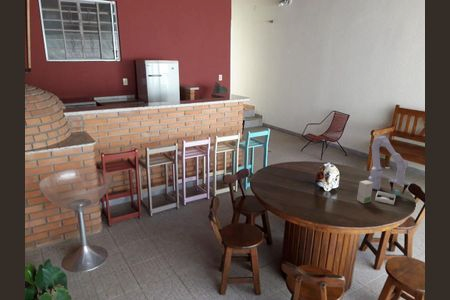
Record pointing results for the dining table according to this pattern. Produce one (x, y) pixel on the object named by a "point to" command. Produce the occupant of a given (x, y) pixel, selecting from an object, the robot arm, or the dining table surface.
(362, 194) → the skincare box
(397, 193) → the ball
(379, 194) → the white square frame
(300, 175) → the dining table surface
